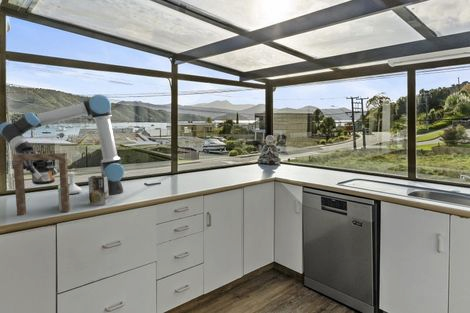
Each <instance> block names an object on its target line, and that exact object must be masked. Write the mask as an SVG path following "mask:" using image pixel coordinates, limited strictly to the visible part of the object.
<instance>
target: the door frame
mask: <svg viewBox="0 0 470 313" xmlns="http://www.w3.org/2000/svg"><path fill="white" fill-rule="evenodd" d="M67 157H68V154H67V152H66V153H65V152H63V153H62V152H61V153H59V152H58V153H57V152H56V153H55V152H54V153H53V152H52V153H42V154H18V153H14V154H12V162H13V163H12V164H13V175H14V176H13V177H14V189H15V203H16V204H15V205H16V216H24V215H26V214H27V204H26V188H25V187H26V186H25V175H24V174H25V173H24V171H25V170H24V169H23V160H31V161H35V160H36V161H37V160H51V161H53V160H57V161H58V169H59V170H58V171H59V172H58V173H59V184H60V190H61V207H62V211H61V213H63V214H64V213H69V212H70V211H71V207H70V194H69V187H68V186H69V175H68V173H69V171H68V170H69V169H68V166H67Z"/></svg>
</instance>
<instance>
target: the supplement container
mask: <svg viewBox="0 0 470 313" xmlns="http://www.w3.org/2000/svg"><path fill="white" fill-rule="evenodd" d="M53 164H54V162H53V160H42V161H37V160H36V161H35V160H32V161H31V166H32V167H33V166H34V168H35V169H36V170H37V171H38V172H39V173H40V174H41V177H40V178H39V179H37V178H36V177H35V176H34V175H33V174H32V173H31V183H32V184H33V185H37V186H41V185H42V186H43V185H50V184H52V183H55V181H56V180H55V179H56V178H55V177H56V175H55V176H54V168H55V166H54V165H53Z"/></svg>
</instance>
